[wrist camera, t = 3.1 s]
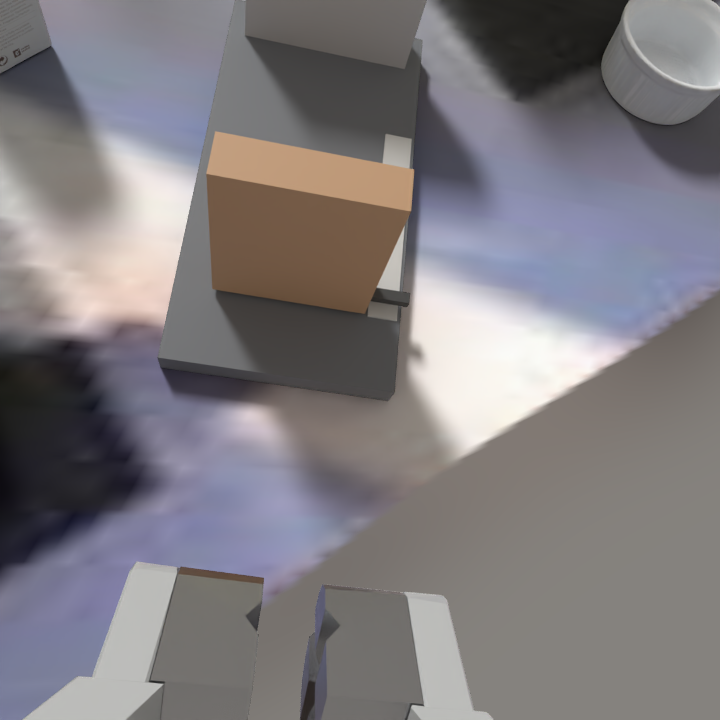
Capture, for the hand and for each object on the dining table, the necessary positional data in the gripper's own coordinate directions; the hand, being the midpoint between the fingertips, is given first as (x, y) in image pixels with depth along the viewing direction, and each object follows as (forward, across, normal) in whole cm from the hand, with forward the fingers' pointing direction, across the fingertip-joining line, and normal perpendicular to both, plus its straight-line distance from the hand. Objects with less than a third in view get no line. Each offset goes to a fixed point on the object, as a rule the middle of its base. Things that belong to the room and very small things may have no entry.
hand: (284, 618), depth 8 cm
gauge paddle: (+28, +1, -5) cm, 29 cm away
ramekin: (+45, +23, +8) cm, 51 cm away
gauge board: (+34, 0, -2) cm, 35 cm away
